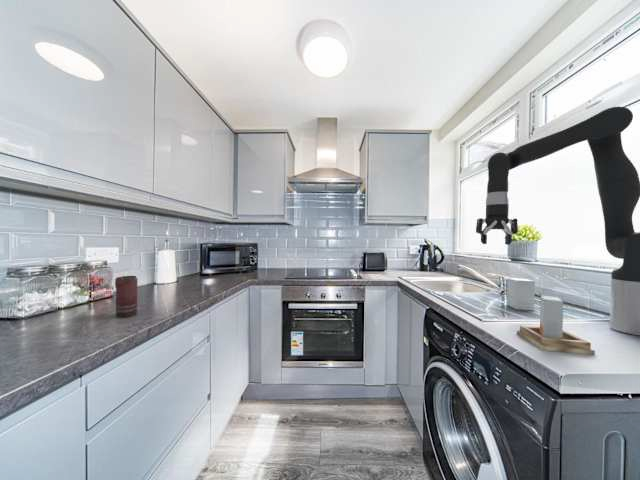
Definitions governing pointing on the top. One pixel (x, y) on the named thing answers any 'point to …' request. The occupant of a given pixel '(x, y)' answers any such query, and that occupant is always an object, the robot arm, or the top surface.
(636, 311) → the robot arm
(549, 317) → the skincare box
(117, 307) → the can
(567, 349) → the wooden tray
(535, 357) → the top surface
